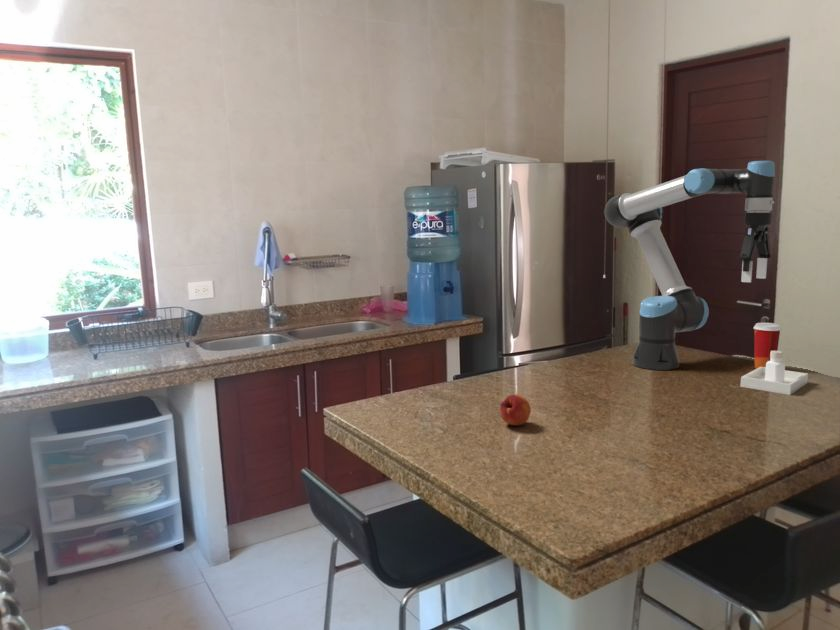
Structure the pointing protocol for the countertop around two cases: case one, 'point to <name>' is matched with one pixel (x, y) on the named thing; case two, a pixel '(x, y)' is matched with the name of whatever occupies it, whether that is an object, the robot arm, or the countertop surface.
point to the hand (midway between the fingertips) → (753, 280)
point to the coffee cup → (765, 342)
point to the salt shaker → (775, 367)
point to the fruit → (515, 410)
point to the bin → (787, 387)
